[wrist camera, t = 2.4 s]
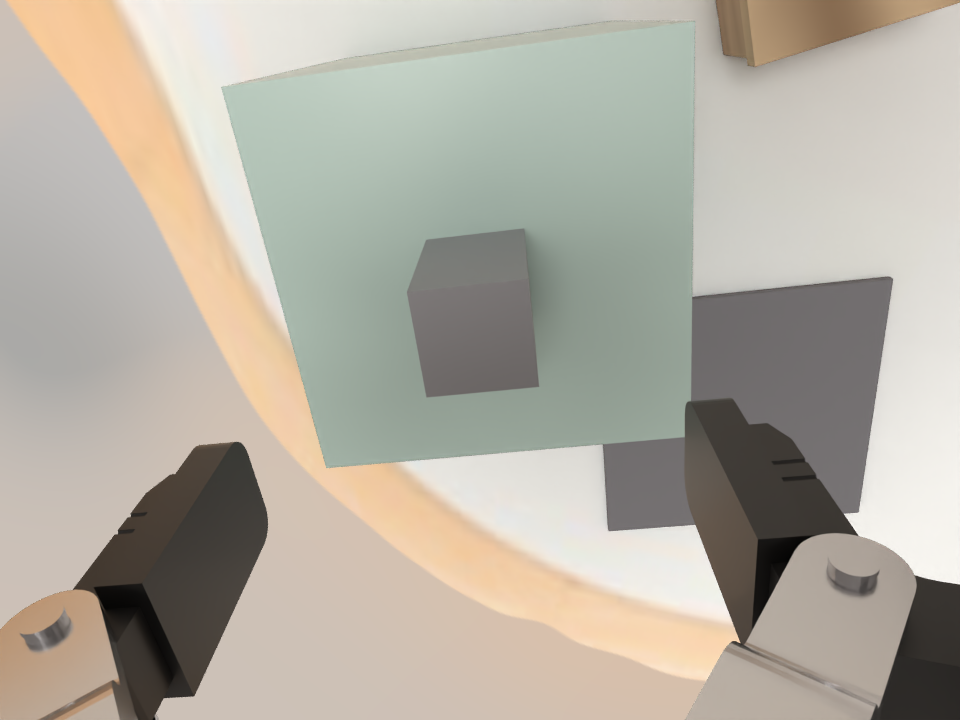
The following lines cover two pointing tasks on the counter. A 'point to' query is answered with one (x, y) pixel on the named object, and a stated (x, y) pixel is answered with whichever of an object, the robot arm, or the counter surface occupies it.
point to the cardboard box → (806, 23)
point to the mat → (770, 390)
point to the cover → (483, 239)
